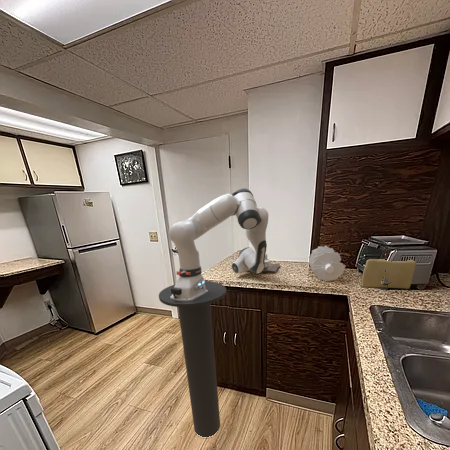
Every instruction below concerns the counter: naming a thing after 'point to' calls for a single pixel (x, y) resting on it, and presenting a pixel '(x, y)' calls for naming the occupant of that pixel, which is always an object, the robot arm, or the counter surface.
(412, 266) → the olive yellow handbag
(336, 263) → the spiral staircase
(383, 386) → the counter surface
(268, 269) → the board
